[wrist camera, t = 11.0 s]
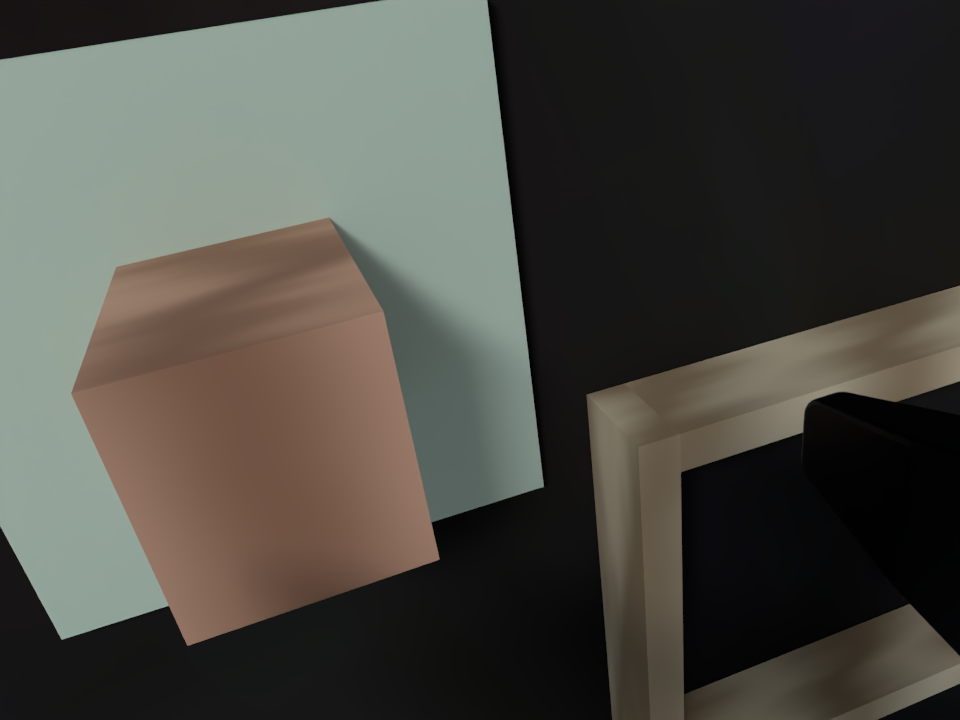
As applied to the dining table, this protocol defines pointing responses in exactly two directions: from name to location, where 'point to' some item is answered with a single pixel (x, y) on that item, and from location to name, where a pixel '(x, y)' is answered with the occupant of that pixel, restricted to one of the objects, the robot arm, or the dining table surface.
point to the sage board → (249, 211)
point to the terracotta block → (255, 426)
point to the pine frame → (728, 431)
